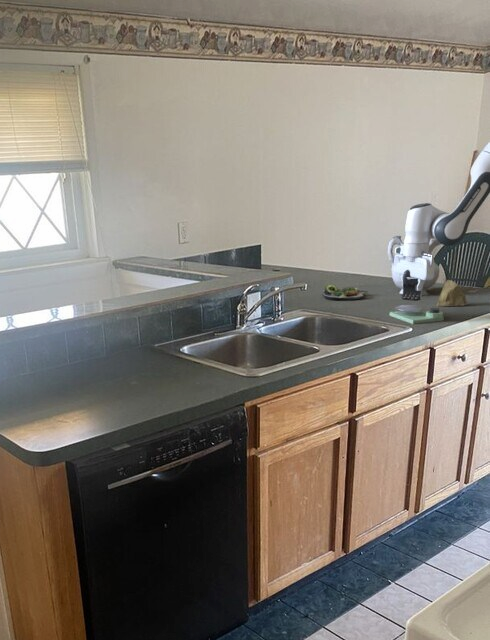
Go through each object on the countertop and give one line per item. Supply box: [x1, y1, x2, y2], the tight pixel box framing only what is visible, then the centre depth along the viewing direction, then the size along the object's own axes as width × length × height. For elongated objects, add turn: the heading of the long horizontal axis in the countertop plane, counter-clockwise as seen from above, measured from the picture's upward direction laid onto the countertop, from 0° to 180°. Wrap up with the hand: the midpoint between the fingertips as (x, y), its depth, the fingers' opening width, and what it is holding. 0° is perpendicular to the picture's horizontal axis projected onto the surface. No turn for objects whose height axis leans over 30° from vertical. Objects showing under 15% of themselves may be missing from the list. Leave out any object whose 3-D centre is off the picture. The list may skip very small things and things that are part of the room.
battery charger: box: [401, 270, 423, 302], centre depth 243 cm, size 7×4×11 cm, turn 54°
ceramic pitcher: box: [387, 235, 442, 296], centre depth 283 cm, size 22×20×25 cm
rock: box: [436, 279, 468, 307], centre depth 261 cm, size 11×9×10 cm
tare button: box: [429, 307, 440, 313], centre depth 241 cm, size 3×3×2 cm
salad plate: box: [321, 283, 369, 301], centre depth 286 cm, size 19×18×5 cm
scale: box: [389, 309, 445, 325], centre depth 246 cm, size 15×14×3 cm
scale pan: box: [395, 304, 425, 312], centre depth 247 cm, size 10×10×1 cm
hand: (411, 288), depth 244 cm, fingers closed on battery charger, 7 cm apart
